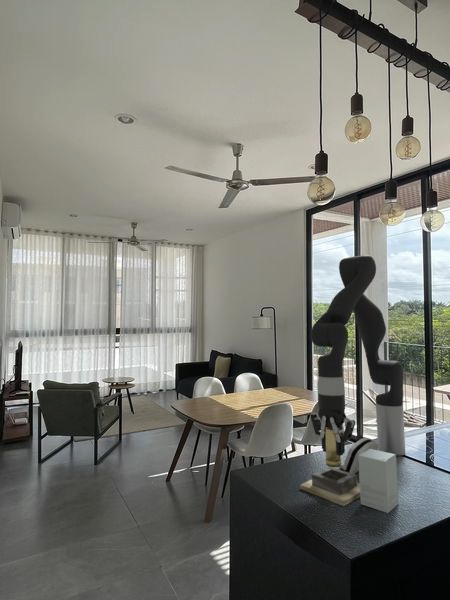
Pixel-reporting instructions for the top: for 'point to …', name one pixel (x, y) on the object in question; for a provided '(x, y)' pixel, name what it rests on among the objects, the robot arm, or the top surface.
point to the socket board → (332, 496)
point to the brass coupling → (331, 449)
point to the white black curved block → (356, 450)
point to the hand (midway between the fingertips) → (333, 452)
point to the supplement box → (378, 480)
